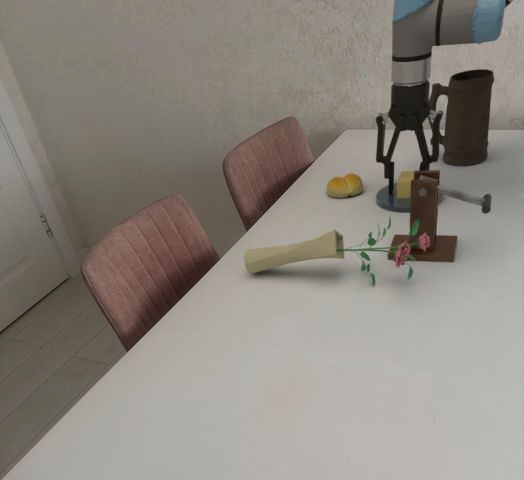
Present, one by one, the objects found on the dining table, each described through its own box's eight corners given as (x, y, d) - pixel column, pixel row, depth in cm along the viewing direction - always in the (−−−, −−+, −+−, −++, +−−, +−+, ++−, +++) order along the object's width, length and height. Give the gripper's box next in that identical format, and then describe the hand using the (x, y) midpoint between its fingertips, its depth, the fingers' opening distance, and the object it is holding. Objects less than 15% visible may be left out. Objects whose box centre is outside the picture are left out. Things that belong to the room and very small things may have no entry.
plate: (446, 184, 118) (446, 179, 117) (439, 212, 108) (440, 207, 107) (382, 185, 124) (382, 180, 123) (370, 212, 113) (370, 207, 113)
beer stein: (492, 150, 129) (497, 64, 117) (488, 165, 122) (492, 76, 110) (431, 155, 136) (429, 74, 124) (423, 170, 129) (420, 86, 117)
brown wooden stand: (457, 241, 98) (463, 166, 88) (453, 262, 92) (460, 184, 83) (394, 239, 102) (394, 168, 93) (387, 259, 97) (387, 185, 87)
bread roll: (324, 189, 128) (323, 173, 125) (359, 183, 127) (358, 167, 125) (329, 201, 121) (328, 185, 119) (366, 195, 121) (365, 179, 118)
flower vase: (273, 293, 108) (442, 267, 91) (247, 311, 98) (432, 286, 81) (259, 240, 104) (432, 202, 87) (231, 252, 94) (421, 212, 77)
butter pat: (401, 187, 118) (401, 171, 115) (420, 187, 116) (420, 170, 114) (396, 198, 114) (396, 181, 111) (416, 198, 112) (417, 181, 110)
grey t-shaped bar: (488, 204, 90) (494, 192, 88) (487, 217, 86) (493, 204, 84) (417, 183, 92) (421, 171, 90) (413, 195, 88) (418, 182, 87)
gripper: (461, 73, 100) (450, 185, 114) (367, 79, 106) (368, 184, 121) (458, 83, 95) (447, 199, 109) (359, 89, 101) (361, 198, 116)
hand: (405, 191), depth 115 cm, fingers open, 6 cm apart
